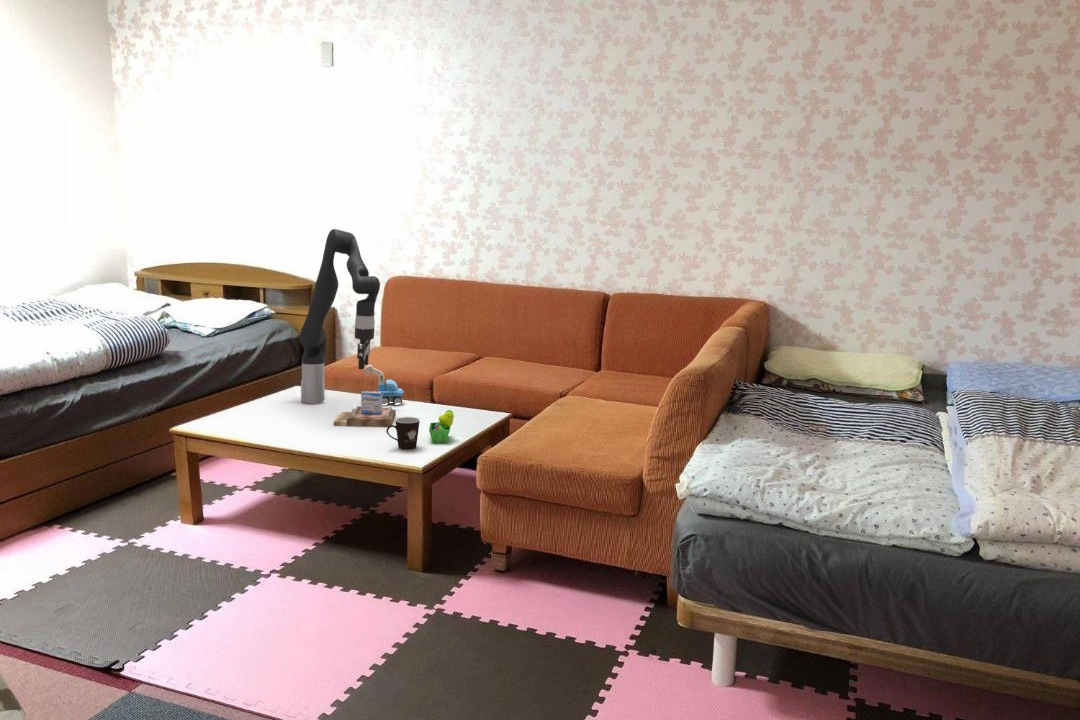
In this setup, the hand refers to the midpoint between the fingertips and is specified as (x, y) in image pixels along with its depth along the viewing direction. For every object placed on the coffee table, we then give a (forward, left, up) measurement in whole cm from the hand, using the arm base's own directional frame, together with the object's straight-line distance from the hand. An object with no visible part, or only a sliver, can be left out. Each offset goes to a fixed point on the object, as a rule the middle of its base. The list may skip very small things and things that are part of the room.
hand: (363, 366), depth 335 cm
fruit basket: (+33, -28, -21) cm, 48 cm away
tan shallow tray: (+1, -4, -21) cm, 22 cm away
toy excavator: (+5, +26, -21) cm, 34 cm away
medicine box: (+4, -4, -18) cm, 19 cm away
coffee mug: (+20, -39, -21) cm, 49 cm away
